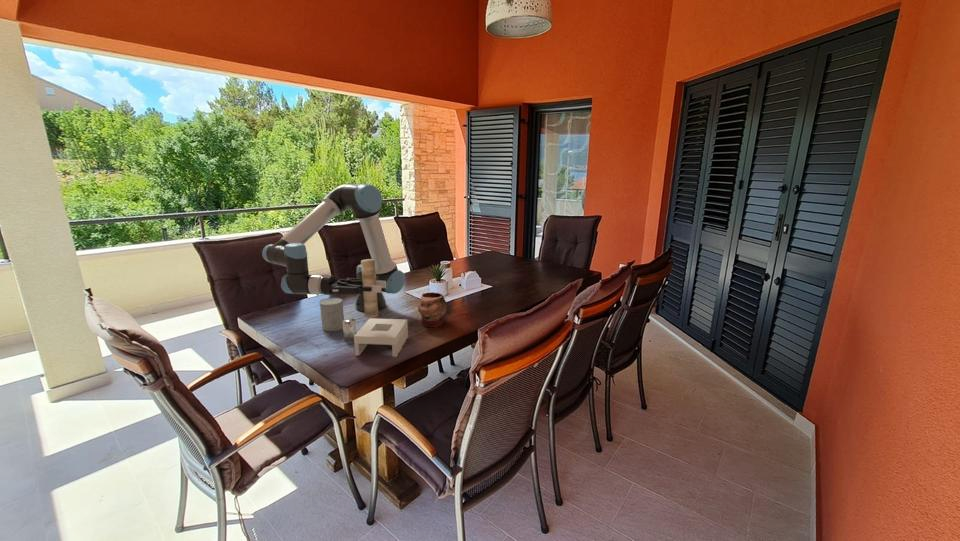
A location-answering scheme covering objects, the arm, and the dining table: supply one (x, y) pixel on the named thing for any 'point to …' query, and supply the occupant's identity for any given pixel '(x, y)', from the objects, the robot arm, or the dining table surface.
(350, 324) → the glass salt shaker
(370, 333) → the miniature square stool
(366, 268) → the long pin
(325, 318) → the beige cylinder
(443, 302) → the decorative planter
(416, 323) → the dining table surface
